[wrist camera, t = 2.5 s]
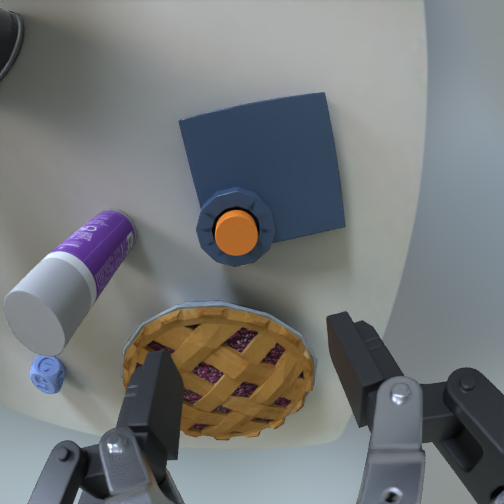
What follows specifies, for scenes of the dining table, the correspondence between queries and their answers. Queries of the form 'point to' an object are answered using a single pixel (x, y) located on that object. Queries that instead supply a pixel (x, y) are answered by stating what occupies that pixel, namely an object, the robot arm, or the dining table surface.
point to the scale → (265, 170)
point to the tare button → (236, 233)
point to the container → (68, 283)
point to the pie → (228, 366)
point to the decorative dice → (47, 374)
